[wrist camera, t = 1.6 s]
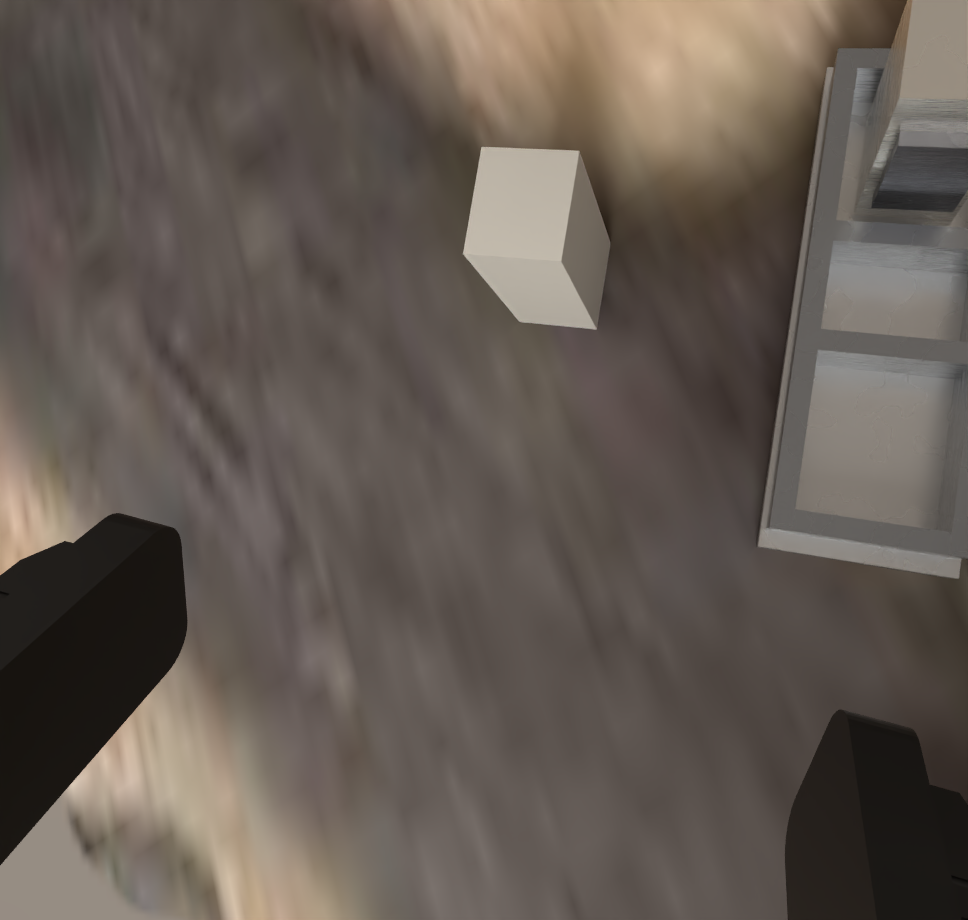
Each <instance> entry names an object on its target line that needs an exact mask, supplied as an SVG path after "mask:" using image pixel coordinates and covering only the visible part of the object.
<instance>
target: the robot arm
mask: <svg viewBox="0 0 968 920" xmlns="http://www.w3.org/2000/svg"><path fill="white" fill-rule="evenodd" d="M186 631H187V609H186V596H185V584H184V571H183V558H182V546H181V539H180V536H179V534H178V532H177V531H176V530H175V529H174V528H172V527H169V526H165V525H162V524H158V523H154V522H150V521H147V520H143V519H139V518H136V517H132V516H128V515H124V514H120V513H116V514H112V515H109V516H107V517H106V518H104V519H103V520H102V521H100V522H99V523H98V524H97V525H95V526H94V527H93V528H92V529H90V530H89V531H88V532H87V533H85V534H84V535H83V536H82V537H80V538H79V539H78V540H77V541H75V542H74V543H70V542H67V541H64V542H62V543H59V544H57V545H55V546H52V547H50V548H48V549H45V550H43V551H41V552H38V553H36V554H34V555H31V556H29V557H27V558H24V559H22V560H20V561H19V562H17V563H16V564H15V565H13V566H12V567H11V568H10V569H8V570H7V571H6V572H4V573H3V574H2V575H0V865H1V864H2V863H3V862H4V860H5V859H6V858H7V857H8V856H9V854H10V853H11V852H12V851H13V850H14V849H15V848H16V847H17V845H18V844H19V843H20V842H21V841H22V840H23V838H24V837H25V836H26V835H27V834H28V833H29V831H30V830H31V829H32V828H33V827H34V826H35V824H36V823H37V822H38V821H39V820H40V819H41V818H42V817H43V815H44V814H45V813H46V812H47V811H48V810H49V808H50V807H51V806H52V805H53V804H54V803H55V802H56V800H57V799H58V798H59V797H60V796H61V795H62V793H63V792H64V791H65V790H66V789H67V788H68V787H69V785H70V784H71V783H72V782H73V781H74V780H75V778H76V777H77V776H78V775H79V774H80V773H81V772H82V770H83V769H84V768H85V767H86V766H87V765H88V763H89V762H90V761H91V760H92V759H93V758H94V757H95V755H96V754H97V753H98V752H99V751H100V750H101V749H102V747H103V746H104V745H105V744H106V743H107V742H108V740H109V739H110V738H111V737H112V736H113V735H114V734H115V732H116V731H117V730H118V729H119V728H120V727H121V725H122V724H123V723H124V722H125V721H126V720H127V719H128V717H129V716H130V715H131V714H132V713H133V712H134V710H135V709H136V708H137V707H138V706H139V705H140V704H141V702H142V701H143V700H144V699H145V698H146V697H147V695H148V694H149V693H150V692H151V691H152V690H153V689H154V687H155V686H156V685H157V684H158V683H159V682H160V680H161V679H162V678H163V677H164V676H165V675H166V674H167V672H168V671H169V670H170V669H171V667H172V666H173V664H174V663H175V661H176V659H177V658H178V656H179V653H180V651H181V649H182V646H183V643H184V640H185V636H186ZM785 869H786V890H787V912H788V920H968V805H967V803H966V802H965V800H964V799H963V798H962V796H961V795H960V793H957V792H954V791H950V790H946V789H943V788H939V787H936V786H932V785H929V780H928V776H927V772H926V768H925V764H924V759H923V755H922V751H921V747H920V743H919V739H918V737H917V735H916V733H915V732H914V730H913V729H911V728H908V727H904V726H900V725H897V724H893V723H889V722H886V721H882V720H878V719H874V718H871V717H867V716H863V715H860V714H856V713H852V712H848V711H845V710H838V711H836V713H835V714H834V715H833V716H832V718H831V720H830V722H829V724H828V726H827V728H826V731H825V733H824V735H823V737H822V740H821V742H820V744H819V746H818V748H817V751H816V753H815V755H814V757H813V760H812V762H811V764H810V766H809V769H808V771H807V773H806V775H805V778H804V780H803V782H802V784H801V787H800V789H799V791H798V793H797V795H796V798H795V800H794V803H793V806H792V809H791V813H790V817H789V822H788V828H787V834H786V844H785Z"/></svg>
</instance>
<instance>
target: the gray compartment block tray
mask: <svg viewBox="0 0 968 920" xmlns="http://www.w3.org/2000/svg"><path fill="white" fill-rule="evenodd" d="M756 547H760V548H767V549H773V550H779V551H785V552H791V553H797V554H804V555H810V556H816V557H822V558H828V559H834V560H840V561H847V562H853V563H859V564H865V565H871V566H877V567H884V568H890V569H896V570H902V571H908V572H914V573H920V574H927V575H933V576H939V577H945V578H955V579H959V573H960V565H961V559H968V0H907V3H906V6H905V8H904V11H903V14H902V17H901V20H900V23H899V26H898V29H897V32H896V35H895V38H894V41H893V44H892V47H891V48H838V51H837V56H836V60H835V64H834V67H827V70H826V75H825V79H824V84H823V90H822V96H821V103H820V110H819V117H818V124H817V131H816V138H815V145H814V152H813V159H812V166H811V172H810V179H809V186H808V193H807V200H806V207H805V214H804V221H803V228H802V235H801V242H800V249H799V255H798V262H797V269H796V276H795V283H794V290H793V297H792V304H791V311H790V318H789V325H788V332H787V338H786V345H785V352H784V359H783V366H782V373H781V380H780V387H779V394H778V401H777V408H776V414H775V421H774V428H773V435H772V442H771V449H770V456H769V463H768V470H767V477H766V484H765V491H764V497H763V504H762V511H761V518H760V525H759V532H758V539H757V546H756Z"/></svg>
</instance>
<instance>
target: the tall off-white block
mask: <svg viewBox="0 0 968 920" xmlns="http://www.w3.org/2000/svg"><path fill="white" fill-rule="evenodd" d="M610 245H611V243H610V240H609V237H608V234H607V231H606V228H605V225H604V222H603V219H602V216H601V213H600V210H599V207H598V204H597V201H596V198H595V195H594V192H593V189H592V186H591V183H590V180H589V177H588V174H587V171H586V169H585V166H584V163H583V160H582V157H581V154H580V151H574V150H548V149H522V148H497V147H482V148H481V154H480V160H479V165H478V171H477V177H476V183H475V188H474V194H473V200H472V206H471V211H470V217H469V223H468V229H467V234H466V240H465V246H464V252H463V254H464V256H465V257H466V258H467V259H468V260H469V262H470V263H471V264H472V265H473V266H474V268H475V269H476V270H477V271H478V272H479V274H480V275H481V276H482V277H483V278H484V280H485V281H486V282H487V283H488V284H489V286H490V287H491V288H492V289H493V290H494V292H495V293H496V294H497V295H498V296H499V298H500V299H501V300H502V301H503V303H504V304H505V305H506V306H507V307H508V309H509V310H510V311H511V312H512V313H513V315H514V316H515V317H516V318H517V319H518V321H519V322H526V323H536V324H546V325H557V326H567V327H577V328H587V329H597V325H598V319H599V313H600V307H601V301H602V294H603V288H604V282H605V276H606V270H607V263H608V257H609V251H610Z"/></svg>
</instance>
